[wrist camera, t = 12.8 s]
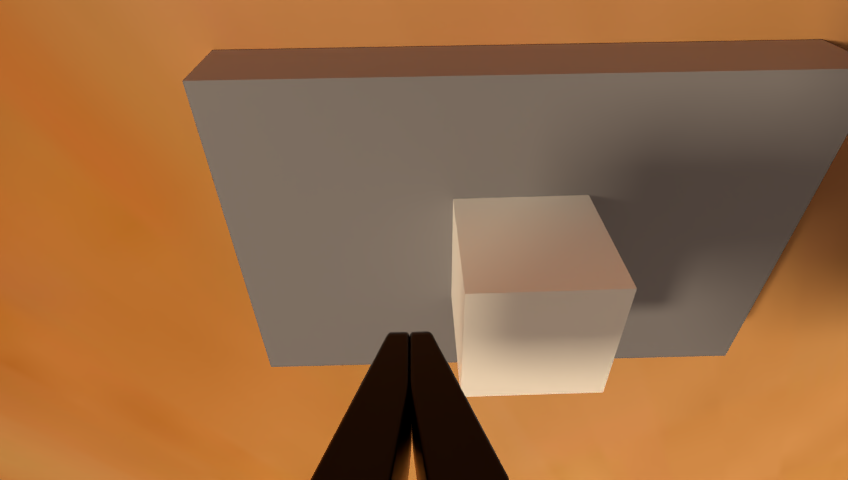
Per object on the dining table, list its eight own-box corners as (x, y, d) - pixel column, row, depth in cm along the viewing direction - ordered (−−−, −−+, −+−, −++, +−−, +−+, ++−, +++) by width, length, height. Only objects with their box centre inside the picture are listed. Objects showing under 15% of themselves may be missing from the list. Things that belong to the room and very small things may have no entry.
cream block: (569, 158, 21) (636, 288, 15) (553, 251, 24) (603, 392, 18) (448, 161, 21) (464, 293, 15) (447, 255, 24) (460, 396, 18)
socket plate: (822, 39, 18) (883, 68, 16) (697, 310, 27) (725, 355, 25) (212, 50, 18) (182, 81, 16) (283, 320, 27) (271, 366, 24)
